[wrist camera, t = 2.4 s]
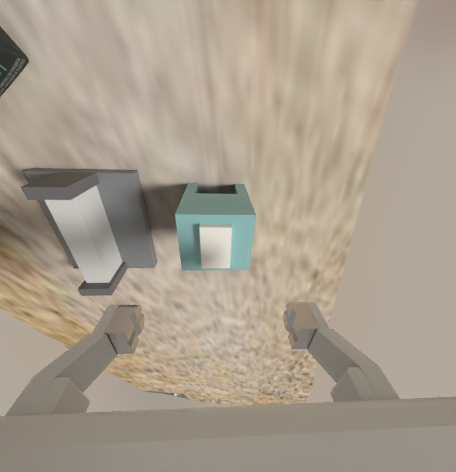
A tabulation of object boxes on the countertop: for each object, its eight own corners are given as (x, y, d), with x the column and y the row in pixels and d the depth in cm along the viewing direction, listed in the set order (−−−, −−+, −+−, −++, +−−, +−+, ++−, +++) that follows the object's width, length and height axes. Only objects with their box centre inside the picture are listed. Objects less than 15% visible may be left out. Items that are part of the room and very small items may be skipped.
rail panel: (33, 168, 19) (-28, 186, 14) (137, 170, 19) (111, 188, 15) (80, 262, 25) (48, 296, 21) (157, 261, 26) (143, 294, 21)
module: (188, 183, 20) (173, 218, 14) (244, 184, 21) (257, 218, 14) (191, 228, 23) (181, 275, 16) (240, 228, 24) (250, 274, 17)
